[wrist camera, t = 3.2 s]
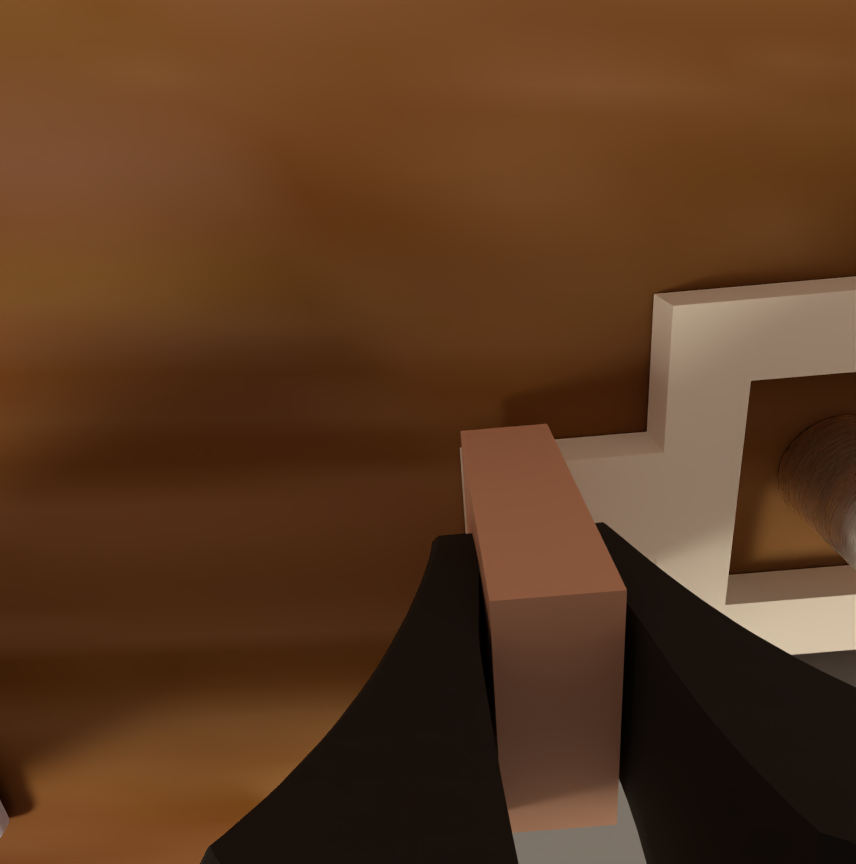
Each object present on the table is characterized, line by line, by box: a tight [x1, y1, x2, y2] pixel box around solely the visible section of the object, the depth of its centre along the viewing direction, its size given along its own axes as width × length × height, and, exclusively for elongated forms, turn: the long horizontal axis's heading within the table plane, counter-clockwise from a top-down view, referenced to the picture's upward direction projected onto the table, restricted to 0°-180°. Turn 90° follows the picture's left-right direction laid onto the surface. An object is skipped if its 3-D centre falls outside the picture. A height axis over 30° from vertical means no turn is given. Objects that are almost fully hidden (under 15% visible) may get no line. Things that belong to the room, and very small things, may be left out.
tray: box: [512, 650, 856, 864], centre depth 17 cm, size 16×11×2 cm
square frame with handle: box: [460, 276, 856, 833], centre depth 11 cm, size 12×8×6 cm
